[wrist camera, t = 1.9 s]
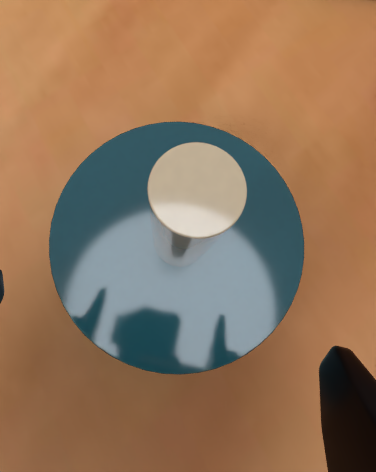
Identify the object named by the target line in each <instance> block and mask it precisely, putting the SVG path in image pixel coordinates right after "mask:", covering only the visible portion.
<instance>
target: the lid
mask: <svg viewBox="0 0 376 472" xmlns="http://www.w3.org/2000/svg"><path fill="white" fill-rule="evenodd" d="M49 258H50V265H51V272H52V276H53V280H54V283H55V287H56V290H57V292H58V295H59V297H60V299H61V301H62V304H63V306H64V308H65V309H66V311H67V312H68V314H69V316H70V317H71V319H72V320H73V322H74V323H75V324H76V325H77V327H78V328H79V329H80V330H81V331H82V333H83V334H84V335H85V336H86V337H87V338H88V339H89V340H91V341H92V342H93V343H94V344H95V345H96V346H97V347H99V348H100V349H101V350H103V351H104V352H106V353H107V354H109V355H110V356H112V357H114V358H116V359H118V360H120V361H122V362H124V363H126V364H128V365H130V366H133V367H136V368H139V369H142V370H146V371H151V372H156V373H162V374H191V373H200V372H204V371H208V370H213V369H216V368H219V367H221V366H224V365H227V364H229V363H232V362H233V361H235V360H237V359H239V358H241V357H243V356H244V355H246V354H248V353H249V352H250V351H252V350H253V349H254V348H256V347H257V346H258V345H260V344H261V343H262V342H263V341H264V340H265V339H266V338H267V337H268V336H269V335H270V334H271V333H272V332H273V331H274V330H275V328H276V327H277V326H278V324H279V323H280V322H281V321H282V319H283V318H284V316H285V314H286V313H287V311H288V309H289V307H290V306H291V304H292V301H293V299H294V297H295V294H296V292H297V289H298V286H299V282H300V278H301V275H302V268H303V261H304V237H303V229H302V223H301V220H300V216H299V212H298V209H297V206H296V204H295V201H294V199H293V196H292V194H291V192H290V190H289V189H288V187H287V185H286V183H285V181H284V180H283V179H282V177H281V176H280V174H279V173H278V172H277V170H276V169H275V168H274V167H273V166H272V165H271V163H270V162H269V161H268V160H267V159H266V158H265V157H264V156H263V155H261V154H260V153H259V152H258V151H257V150H256V149H254V148H253V147H252V146H250V145H249V144H247V143H246V142H244V141H243V140H241V139H239V138H237V137H235V136H233V135H231V134H229V133H227V132H225V131H222V130H219V129H216V128H214V127H211V126H206V125H201V124H197V123H188V122H162V123H156V124H149V125H145V126H142V127H138V128H135V129H132V130H130V131H127V132H125V133H122V134H120V135H118V136H116V137H115V138H113V139H111V140H109V141H108V142H106V143H104V144H103V145H102V146H100V147H99V148H98V149H96V150H95V151H94V152H93V153H91V154H90V155H89V156H88V157H87V158H86V159H85V160H84V161H83V162H82V163H81V164H80V166H79V167H78V168H77V169H76V171H75V172H74V173H73V175H72V176H71V177H70V179H69V181H68V182H67V184H66V186H65V187H64V189H63V191H62V193H61V195H60V198H59V200H58V203H57V205H56V208H55V211H54V215H53V219H52V222H51V230H50V237H49Z"/></svg>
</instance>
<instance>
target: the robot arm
mask: <svg viewBox="0 0 376 472" xmlns="http://www.w3.org/2000/svg"><path fill="white" fill-rule="evenodd" d="M3 296H4V284H3V276H2V271H1V270H0V303H1V301H2V299H3ZM319 381H320V405H321V424H322V433H323V441H324V447H325V454H326V461H327V467H328V472H376V380H375V378H374V377H373V376H372V375H371V374H370V372H369V371H368V370H367V369H366V368H365V366H364V365H363V364H362V363H361V362H360V360H359V359H358V358H357V357H356V356H355V354H354V353H353V352H352V351H351V350H350V349H348V348H344V347H340V346H334V347H332V348H331V349H330V351H329V352H328V354H327V355H326V357H325V358H324V359H323V361H322V362H321V364H320V368H319Z"/></svg>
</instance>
